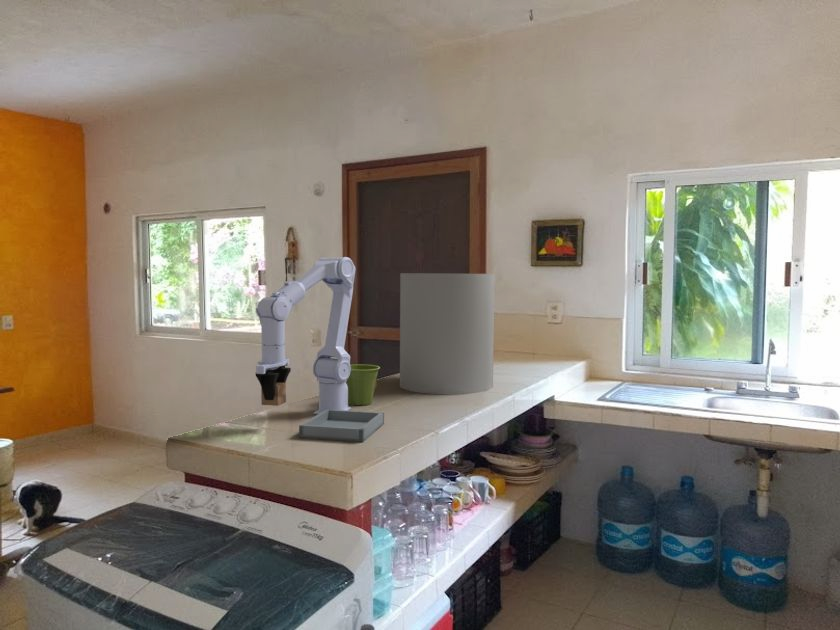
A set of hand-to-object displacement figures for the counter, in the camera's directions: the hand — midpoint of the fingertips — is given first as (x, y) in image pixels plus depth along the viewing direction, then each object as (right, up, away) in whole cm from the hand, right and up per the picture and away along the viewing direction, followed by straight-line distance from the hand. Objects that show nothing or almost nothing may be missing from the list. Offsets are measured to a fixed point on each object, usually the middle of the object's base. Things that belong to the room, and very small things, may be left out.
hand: (273, 397), depth 152 cm
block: (0, -1, 0) cm, 1 cm away
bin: (+18, -8, -1) cm, 20 cm away
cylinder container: (+47, -4, +63) cm, 78 cm away
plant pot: (+19, -6, +31) cm, 37 cm away
